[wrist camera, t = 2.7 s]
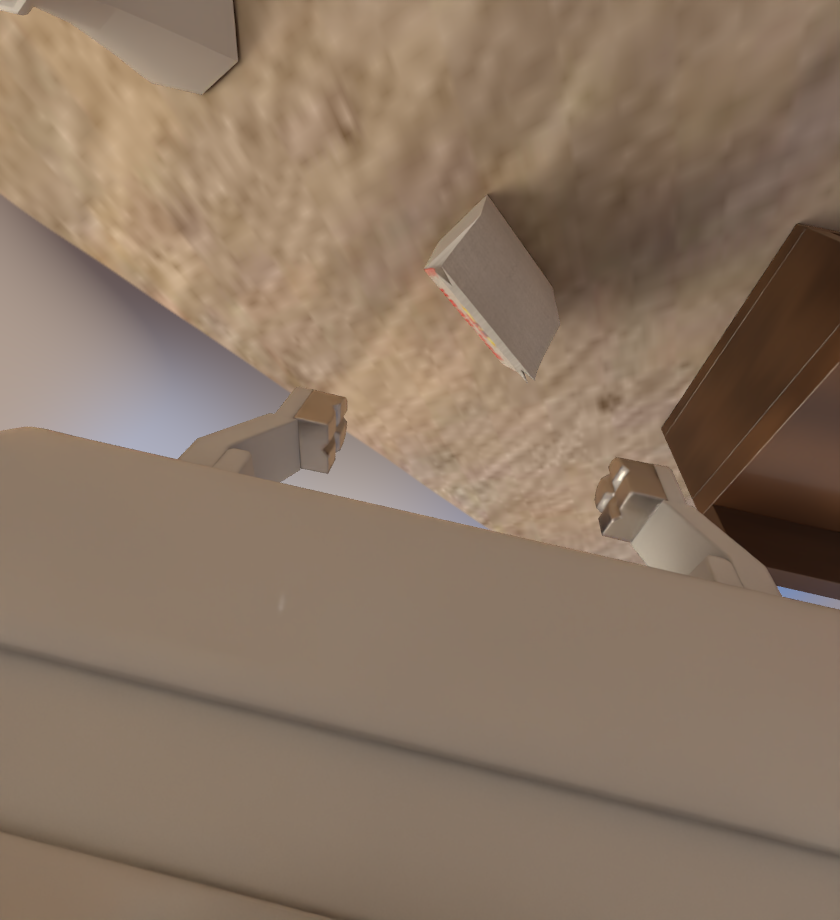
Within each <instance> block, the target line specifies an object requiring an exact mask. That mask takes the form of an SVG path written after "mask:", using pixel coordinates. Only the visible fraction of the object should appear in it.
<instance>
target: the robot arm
mask: <svg viewBox="0 0 840 920" xmlns="http://www.w3.org/2000/svg"><path fill="white" fill-rule="evenodd" d="M346 411H347V399H346V397H342V396H338V395H334V394H329V393H325V392H321V391H317V390H313V389H308V388H304V387H296V388H295V389H294V390H293V392H292V393H291V394H290V395H289V397H288V398H287V399H286V400H285V402H284V403H283V404H282V405H281V407H280V408H279V409H278V410H277V412H276V413H275V414H272V413H269V414H266V415H263V416H261V417H257V418H255V419H252V420H249V421H246V422H243V423H240V424H237V425H235V426H232V427H229V428H226V429H223V430H220V431H217V432H215V433H212V434H209V435H206V436H203V437H200V438H198V439H196V441H195V442H194V443H193V444H192V445H191V446H190V447H189V448H188V449H187V450H186V451H185V452H184V453H183V454H182V455H181V456H180V457H179V458H178V459H173V458H168V457H164V456H160V455H156V454H151V453H147V452H142V451H138V450H134V449H129V448H125V447H120V446H116V445H111V444H107V443H102V442H98V441H94V440H89V439H85V438H80V437H76V436H72V435H68V434H64V433H60V432H56V431H52V430H48V429H43V428H35V427H21V428H15V429H9V430H3V431H0V920H840V610H839V609H834V608H830V607H825V606H821V605H816V604H812V603H808V602H803V601H799V600H794V599H790V598H786V597H782V595H781V594H780V592H779V590H778V588H777V586H776V584H775V583H774V581H773V579H772V577H771V575H770V574H769V572H768V570H767V568H766V566H764V565H763V564H762V563H761V562H759V561H758V560H757V559H756V558H755V557H753V556H752V555H751V554H750V553H749V552H747V551H746V550H745V549H744V548H743V547H741V546H740V545H739V544H738V543H736V542H735V541H734V540H733V539H732V538H730V537H729V536H728V535H727V534H726V533H724V532H723V531H722V530H721V529H720V528H718V527H717V526H716V525H715V524H714V523H712V522H711V521H710V520H709V519H707V518H706V517H705V516H704V515H703V514H701V513H700V512H699V511H698V510H697V509H695V508H694V507H693V506H688V505H687V503H686V500H685V498H684V496H683V494H682V492H681V489H680V487H679V485H678V483H677V480H676V478H675V476H674V474H673V472H672V470H671V469H670V468H669V467H666V466H661V465H656V464H649V463H644V462H639V461H634V460H629V459H624V458H619V457H616V458H614V459H613V460H612V462H611V463H610V465H609V467H608V468H609V472H610V474H608V475H606V476H605V477H603V478H601V480H600V482H599V484H598V486H597V489H596V493H595V504H596V508H597V509H598V510H599V511H600V512H601V513H602V514H601V515H600V517H599V518H598V519H599V524H600V528H601V533H602V536H606V537H610V538H614V539H618V540H622V541H626V542H630V543H631V545H632V547H633V548H634V549H635V551H636V552H637V553H638V554H639V556H640V557H641V558H642V560H643V561H644V562H645V563H646V565H647V566H645V565H641V564H636V563H632V562H627V561H623V560H619V559H614V558H610V557H605V556H601V555H596V554H592V553H588V552H583V551H579V550H574V549H570V548H566V547H561V546H557V545H552V544H548V543H544V542H539V541H535V540H530V539H526V538H521V537H517V536H513V535H508V534H504V533H499V532H495V531H491V530H486V529H482V528H477V527H473V526H469V525H464V524H460V523H455V522H451V521H447V520H442V519H437V518H433V517H429V516H424V515H420V514H416V513H411V512H407V511H402V510H398V509H394V508H389V507H385V506H380V505H376V504H372V503H367V502H363V501H358V500H354V499H350V498H345V497H341V496H336V495H332V494H328V493H323V492H319V491H314V490H310V489H306V488H301V487H297V486H292V485H288V484H283V483H280V482H281V481H283V480H285V479H286V478H288V477H289V476H291V475H293V474H294V473H296V472H298V471H299V470H300V468H301V469H307V470H312V471H317V472H322V473H327V474H328V473H329V471H330V469H331V467H332V465H333V463H334V461H335V453H336V452H338V451H340V449H341V447H342V445H343V442H344V439H345V435H346V428H347V421H346V420H345V418H344V415H345V413H346Z"/></svg>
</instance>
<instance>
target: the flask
mask: <svg viewBox="0 0 840 920" xmlns="http://www.w3.org/2000/svg"><path fill="white" fill-rule="evenodd" d="M33 7H36V8H38V9H40V10H43V11H45V12H47V13H49V14H51V15H54V16H56V17H58V18H60V19H62V20H64V21H67V22H69V23H71V24H72V25H74V26H75V27H76V28H78V29H79V30H81V31H82V32H83V33H85V34H86V35H88V36H89V37H91V38H92V39H93V40H95V41H96V42H98V43H99V44H100V45H102V46H103V47H105V48H106V49H107V50H109V51H110V52H112V53H113V54H114V55H116V56H117V57H118V58H119V59H121V60H122V61H123V62H124V63H126V64H127V65H128V66H130V67H131V68H132V69H133V70H135V71H136V72H137V73H138V74H140V75H141V76H142V77H144V78H145V79H147V80H148V81H149V82H151V83H153V84H157V85H162V86H166V87H171V88H175V89H179V90H184V91H188V92H192V93H197V94H201V95H202V94H203V93H204V92H205V91H206V90H207V89H208V88H210V87H211V86H212V85H213V84H214V83H215V82H216V81H217V80H218V79H219V78H220V77H222V76H223V75H224V74H225V73H226V72H227V71H228V70H229V69H230V68H231V67H232V66H234V65H235V64H236V63H237V62H238V54H237V43H236V32H235V20H234V9H233V0H0V10H1V11H6V12H10V13H14V14H19V15H27V14H28V13H29V12H30V10H31V9H32V8H33Z"/></svg>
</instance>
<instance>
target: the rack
mask: <svg viewBox="0 0 840 920" xmlns="http://www.w3.org/2000/svg"><path fill="white" fill-rule="evenodd" d="M661 430H662V432H663V434H664V436H665V439H666V441H667V443H668V446H669V448H670V450H671V452H672V455H673V457H674V459H675V461H676V464H677V466H678V468H679V470H680V473H681V475H682V477H683V479H684V482H685V484H686V486H687V488H688V491H689V493H690V495H691V497H692V499H693V501H694V504H695V506H696V508H697V510H698V511H699V512H700V513H701V514H703V515H704V516H705V517H706V518H707V519H709V520H710V521H711V522H712V523H714V524H715V525H716V526H717V527H718V528H720V529H721V530H722V531H723V532H724V533H726V534H727V535H728V536H729V537H730V538H732V539H733V540H734V541H735V542H736V543H738V544H739V545H740V546H741V547H743V548H744V549H745V550H746V551H747V552H749V553H750V554H751V555H752V556H753V557H755V558H756V559H757V560H758V561H759V562H761V563H762V564H763V565H764V566H766V568H767V570H768V572H769V574H770V575H771V577H772V579H773V581H774V583H775V584H776V586H781V587H785V588H789V589H794V590H798V591H803V592H807V593H812V594H816V595H820V596H825V597H829V598H834V599H838V600H840V232H839V231H834V230H829V229H824V228H818V227H813V226H808V225H803V224H797V225H796V226H795V228H794V229H793V231H792V232H791V234H790V235H789V237H788V238H787V240H786V241H785V243H784V244H783V246H782V247H781V249H780V250H779V252H778V253H777V255H776V256H775V258H774V259H773V261H772V262H771V264H770V265H769V267H768V268H767V270H766V271H765V273H764V274H763V276H762V277H761V279H760V280H759V282H758V283H757V285H756V286H755V288H754V290H753V291H752V293H751V294H750V296H749V297H748V299H747V300H746V302H745V303H744V305H743V306H742V308H741V309H740V311H739V312H738V314H737V315H736V317H735V318H734V320H733V321H732V323H731V324H730V326H729V327H728V329H727V330H726V332H725V333H724V335H723V336H722V338H721V339H720V341H719V342H718V344H717V345H716V347H715V348H714V350H713V352H712V353H711V355H710V356H709V358H708V359H707V361H706V362H705V364H704V365H703V367H702V368H701V370H700V371H699V373H698V374H697V376H696V377H695V379H694V380H693V382H692V383H691V385H690V386H689V388H688V389H687V391H686V392H685V394H684V395H683V397H682V398H681V400H680V401H679V403H678V404H677V406H676V407H675V409H674V410H673V412H672V414H671V415H670V417H669V418H668V420H667V421H666V423H665V424H664V426H663V427H662V429H661Z"/></svg>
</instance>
